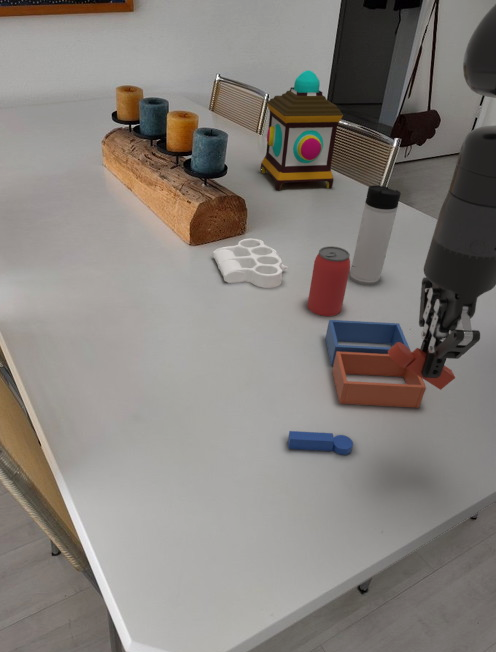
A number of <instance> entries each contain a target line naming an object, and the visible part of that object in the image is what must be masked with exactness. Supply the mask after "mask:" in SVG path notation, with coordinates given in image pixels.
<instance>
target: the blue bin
mask: <svg viewBox="0 0 496 652" xmlns="http://www.w3.org/2000/svg"><path fill="white" fill-rule="evenodd" d="M405 336H406V335H405V334H404V331H403V329H402V327H401V324H400V322H399V323H398V322H396V323H395V322H379V321H360V320H341V319H329V320H328V323H327V329H326V334H325V338H324V339H325V343H326V348H327V352H328V353H327V354H328V357H329V362H330V366H331V367H333V365H334V361H335V356H336V352H337V351H338V352H357V353H376V354H388V350H389V349H390V348H391V347H392V346H394V345H395V344H396V343H397V342H401V343H402V344H404V345H405V346H406V347H408V348H409V349H410V350H411V347H410V345H409V343H408V340H407V338H406V337H405ZM339 342H348V343H367V344H384V345H385V344H386V345H387V344H388V345H391V347H389V346H385V347H384V346H371V345H370V346H367V345H349V344H339Z"/></svg>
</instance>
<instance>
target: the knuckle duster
mask: <svg viewBox="0 0 496 652" xmlns="http://www.w3.org/2000/svg"><path fill="white" fill-rule="evenodd" d="M280 256H281V255H280V254H278V251H277V250H276V249H274V248H273V247H271V246H268V245H266V244H265V243H264V241H263V240H261V239H259V238H243V239H241V240H239V241H238V243H237V244H236V245H229V246H223V247H219V248H216V249H214V250H213V252H212V257H213V259H214V260H215V262H216V264H217V268H218V270H219V271H220V273H221V275H222V277H223V281H224V282H226V283H228V284H235V283H242V282H243V283H245V282H246V283H251V284H252V285H254V286H256V287H258V288H262V289H273V288H277V287H279V286H280V285H281V284H282V278H283V272H284V271H283V270H286V269H289V267H288V266H287V265H285V264H283V261H282V257H280Z"/></svg>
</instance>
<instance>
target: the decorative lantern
mask: <svg viewBox="0 0 496 652" xmlns="http://www.w3.org/2000/svg"><path fill="white" fill-rule="evenodd" d="M320 84H321V83H320V79H319V78H318V76H317V75H316V73H315V72H314V71H312V70H309V69H308V70H304V71H303V72H301V73H300V74H299V75H298V76H297V77H296V78H295V80H294V84H293V86H291V87H290V88H289V90H286V92H285V93H282V94H281V95H274V96H273V97H272V98H270V99H269V100H268V101H267V102H266V103H267V108H268V111H269V118H268V120H269V121H268V129H267V134H266V151H265V156H264V157H263V159H262V161H261V162H260V173H261V174H266V172H267V173H268V174H269V175H270V177H271V178H273V180H274V181H275V191H277V192H280V191H281V190H282V189H281V188H282V187H283V186H282V185H283V184H288V183H289V184H290V183H312V182H313V183H314V182H326V189H329V190H330V189H331V190H332V188H333V185H334V176H333V172H332V162H333V155H334V149H335V142H336V136H337V130H338V126H339V123H340V121H341V120H342V118H343V116H344V114H343V113H342V112H341V111H342V110H341V109H340V108H338V105H336V104H335V103H333V102H331V101H329V100H328V99H327V98H326V96H325V95H323V91H321V90H320ZM261 169H262V170H261Z"/></svg>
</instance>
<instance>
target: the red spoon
mask: <svg viewBox="0 0 496 652" xmlns="http://www.w3.org/2000/svg"><path fill="white" fill-rule="evenodd" d="M389 348H390V349H389V350H388V354H389V356H390V358H391V359H392V360H393V361H394V362H395V363H396V364H398V365H399V366H401V367H406V368H407V369H409V370H410V371H412V372H413V373H415V374H416V375H418V376H420V377H421V378H422V379H423V381H426V382H427V383H429V384H430V385H432V386H433V387H435V388H436V389H439V390H440V391H442V390H443V389H444V388H445V387H446V386H448V385H449V384H450V383H451V382H452V381H453V380H455V379H456V375H455V374H454V372H453V371H452V369H451V368H449V367H448V366H446V365H445V364H444V367H443V370H442V373H441V375H440V377H438V378H424V377H423V376H422V374H421V371H422V368H423V365H424V362H425V358H426V353H425V352H423V351H422V350H420V348H419V347H416V348H415V349H414V350H413V351H411V348H410V347H409V348H410V349H409V348H408V347H406V346H405V345H404V344H402V343H401V342H397V343H396V344H395V345H394V346H392V345H391V347H389Z"/></svg>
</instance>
